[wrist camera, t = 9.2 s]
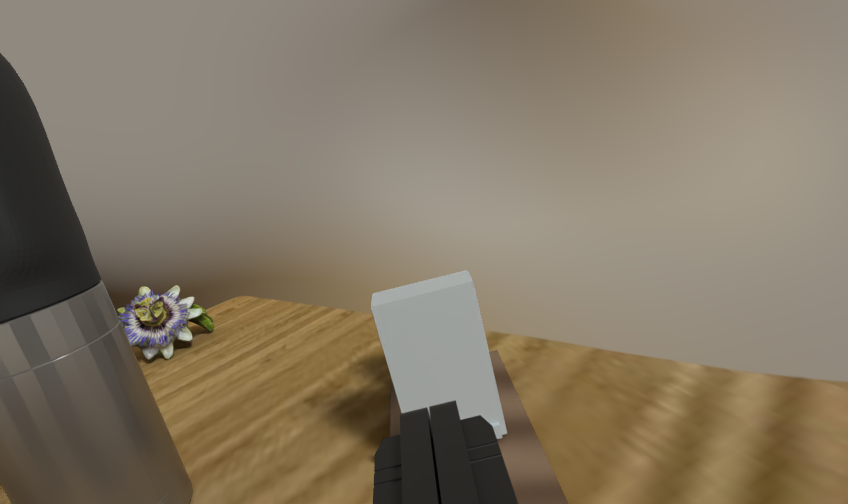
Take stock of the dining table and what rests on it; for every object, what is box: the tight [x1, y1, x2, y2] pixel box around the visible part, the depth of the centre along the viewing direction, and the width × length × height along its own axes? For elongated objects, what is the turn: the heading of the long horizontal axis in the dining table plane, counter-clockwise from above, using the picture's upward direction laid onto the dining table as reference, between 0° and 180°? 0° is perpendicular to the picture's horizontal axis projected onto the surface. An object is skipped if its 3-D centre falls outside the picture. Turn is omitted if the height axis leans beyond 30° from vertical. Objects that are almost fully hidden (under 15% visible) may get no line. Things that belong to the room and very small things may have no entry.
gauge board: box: [390, 350, 568, 504], centre depth 32 cm, size 22×10×8 cm, turn 4°
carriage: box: [371, 270, 507, 439], centre depth 34 cm, size 8×8×11 cm
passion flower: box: [117, 286, 214, 361], centre depth 69 cm, size 11×11×12 cm
